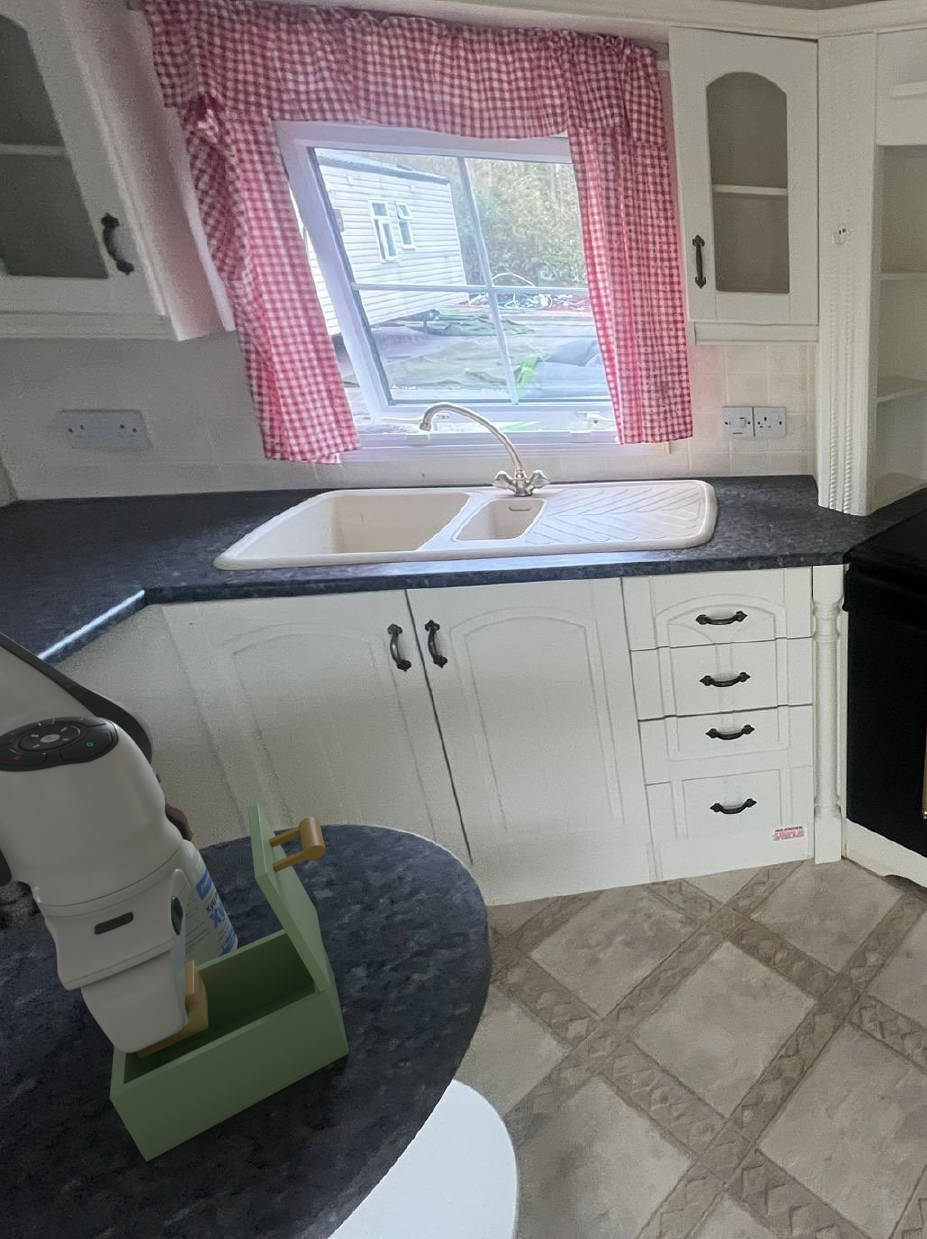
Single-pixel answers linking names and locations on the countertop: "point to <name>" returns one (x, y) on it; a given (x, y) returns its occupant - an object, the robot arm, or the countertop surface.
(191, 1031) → the block
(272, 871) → the lid
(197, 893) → the supplement tub
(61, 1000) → the countertop surface
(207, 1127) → the chest
